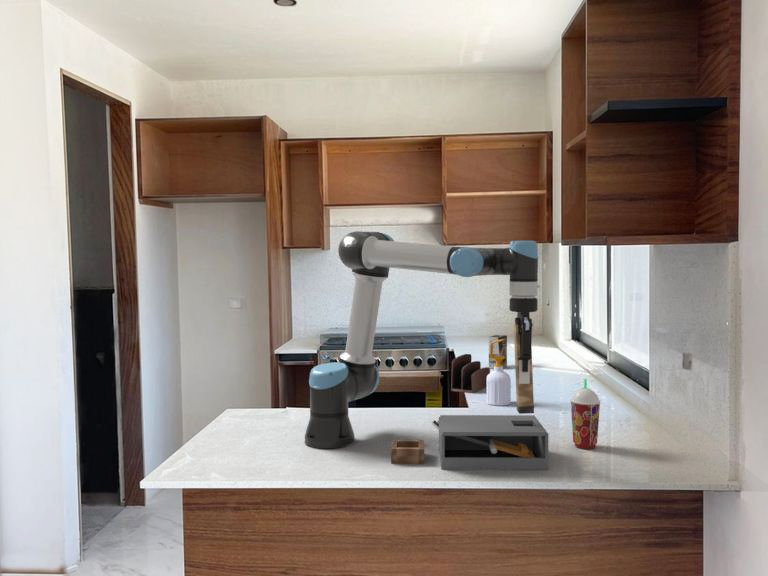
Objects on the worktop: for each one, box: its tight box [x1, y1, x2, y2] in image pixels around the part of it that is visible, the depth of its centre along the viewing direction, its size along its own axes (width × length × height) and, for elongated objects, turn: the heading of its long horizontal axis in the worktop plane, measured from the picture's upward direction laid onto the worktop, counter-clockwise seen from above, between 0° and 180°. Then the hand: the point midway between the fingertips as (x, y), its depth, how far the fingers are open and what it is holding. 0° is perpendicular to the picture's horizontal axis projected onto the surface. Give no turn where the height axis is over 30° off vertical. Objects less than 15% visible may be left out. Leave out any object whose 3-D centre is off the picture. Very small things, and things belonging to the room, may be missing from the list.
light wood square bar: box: [513, 324, 535, 415], centre depth 179 cm, size 4×4×24 cm
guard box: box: [438, 414, 549, 471], centre depth 180 cm, size 28×18×10 cm, turn 87°
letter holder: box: [450, 353, 491, 394], centre depth 277 cm, size 10×20×14 cm, turn 149°
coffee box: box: [488, 334, 508, 370], centre depth 326 cm, size 9×6×16 cm
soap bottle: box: [486, 339, 512, 407], centre depth 247 cm, size 9×9×25 cm
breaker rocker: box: [454, 436, 536, 458], centre depth 180 cm, size 24×15×2 cm, turn 88°
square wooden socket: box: [390, 439, 425, 465], centre depth 181 cm, size 9×9×4 cm
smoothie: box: [570, 378, 601, 450], centre depth 191 cm, size 8×8×20 cm
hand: (522, 381), depth 179 cm, fingers closed on light wood square bar, 4 cm apart
